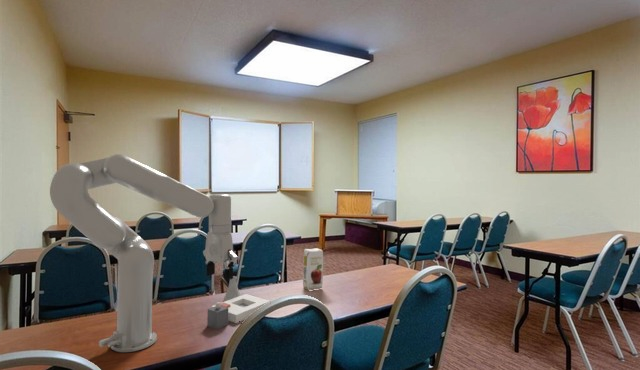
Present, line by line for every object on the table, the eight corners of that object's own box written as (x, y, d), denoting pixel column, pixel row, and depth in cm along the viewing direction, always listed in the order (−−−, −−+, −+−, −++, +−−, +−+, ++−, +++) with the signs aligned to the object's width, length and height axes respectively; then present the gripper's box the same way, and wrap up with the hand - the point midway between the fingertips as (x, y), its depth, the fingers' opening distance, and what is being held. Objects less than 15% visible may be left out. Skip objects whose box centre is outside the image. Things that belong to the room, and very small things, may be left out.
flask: (220, 301, 144) (220, 277, 143) (231, 296, 150) (232, 274, 150) (233, 304, 140) (233, 280, 140) (244, 299, 147) (245, 276, 146)
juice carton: (301, 287, 164) (302, 248, 164) (316, 285, 168) (317, 247, 168) (308, 292, 158) (309, 251, 158) (324, 289, 162) (325, 250, 162)
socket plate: (236, 323, 122) (236, 313, 122) (211, 313, 130) (211, 304, 130) (270, 308, 137) (270, 299, 137) (245, 300, 145) (246, 292, 145)
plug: (216, 329, 117) (217, 306, 117) (207, 325, 119) (207, 303, 119) (227, 324, 121) (228, 302, 121) (218, 321, 124) (219, 299, 123)
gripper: (195, 228, 122) (195, 275, 122) (228, 232, 112) (227, 284, 112) (212, 225, 128) (212, 270, 128) (244, 230, 118) (244, 278, 118)
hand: (219, 277), depth 120 cm, fingers open, 9 cm apart
